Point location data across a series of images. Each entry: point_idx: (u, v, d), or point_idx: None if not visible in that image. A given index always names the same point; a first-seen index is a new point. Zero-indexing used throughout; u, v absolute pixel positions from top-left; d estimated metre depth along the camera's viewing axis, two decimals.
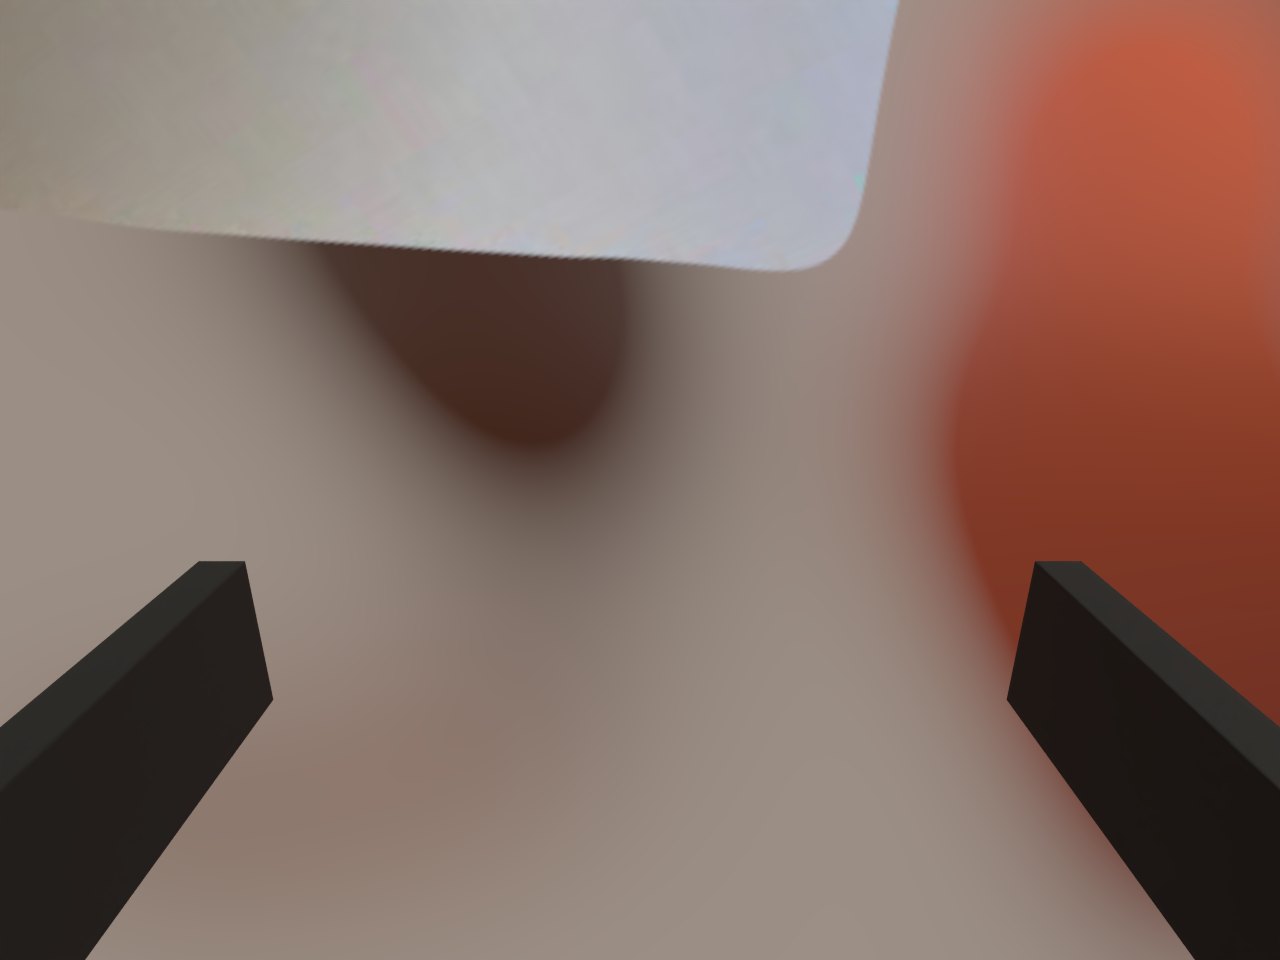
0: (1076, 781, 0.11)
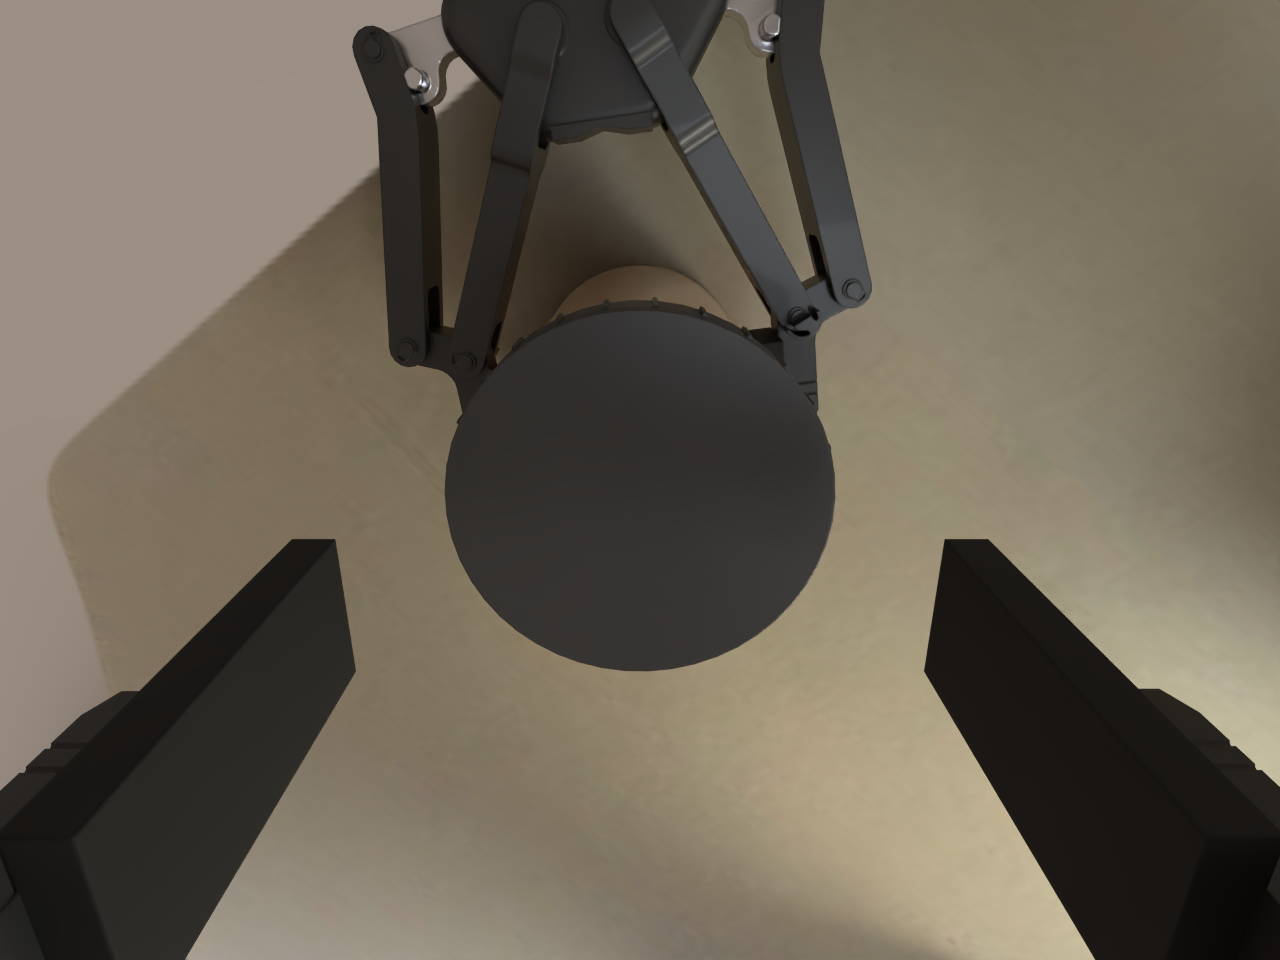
0: (974, 743, 0.12)
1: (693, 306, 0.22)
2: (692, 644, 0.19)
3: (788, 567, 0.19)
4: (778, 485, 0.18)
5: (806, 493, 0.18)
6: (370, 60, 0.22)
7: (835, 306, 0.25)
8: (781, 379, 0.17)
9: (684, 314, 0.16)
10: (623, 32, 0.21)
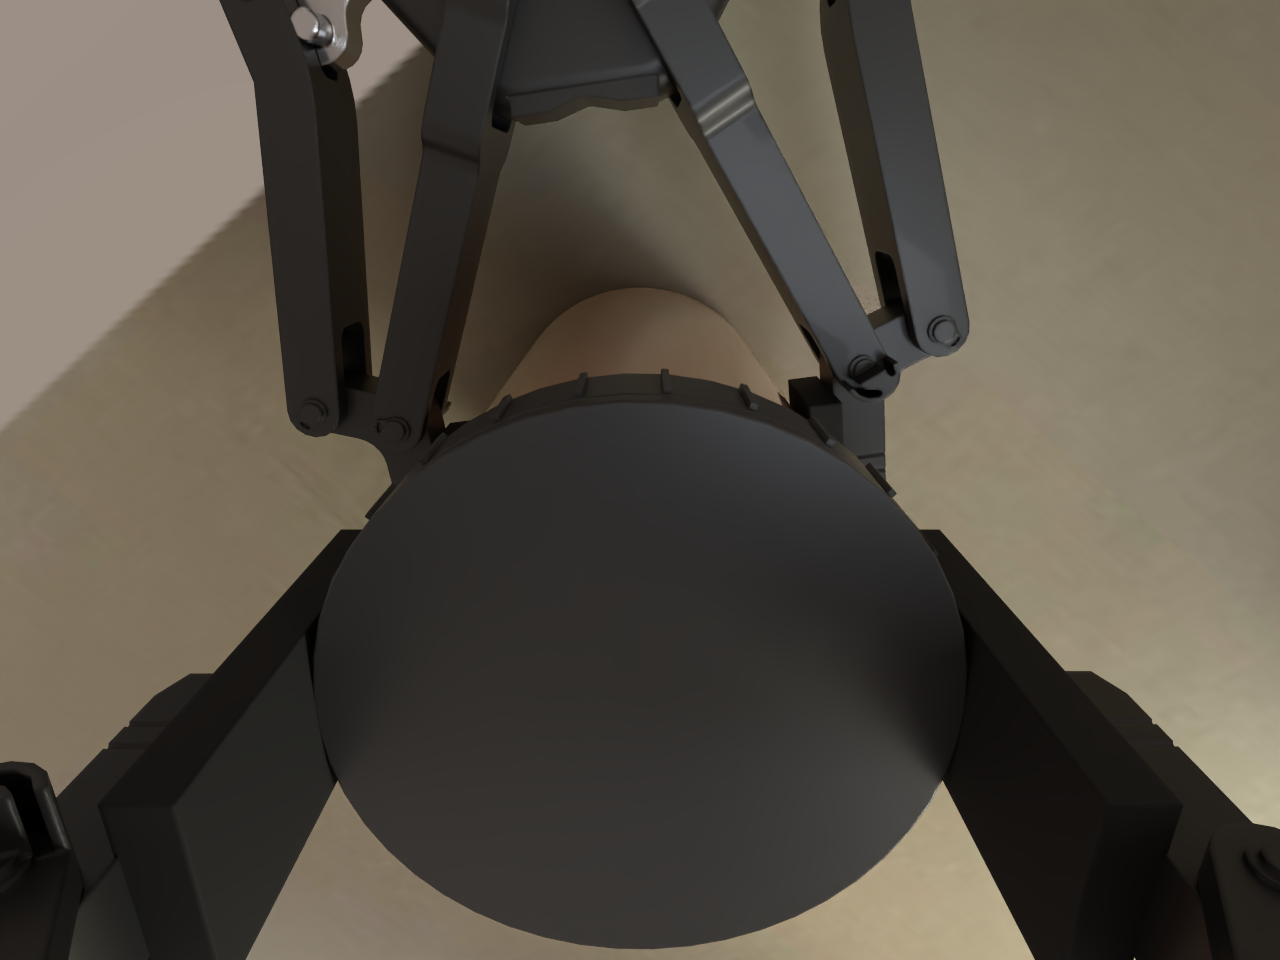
0: None
1: (719, 362, 0.15)
2: (723, 913, 0.12)
3: (882, 805, 0.11)
4: (872, 684, 0.11)
5: (918, 696, 0.11)
6: None
7: (914, 352, 0.18)
8: (886, 517, 0.10)
9: (719, 409, 0.09)
10: None
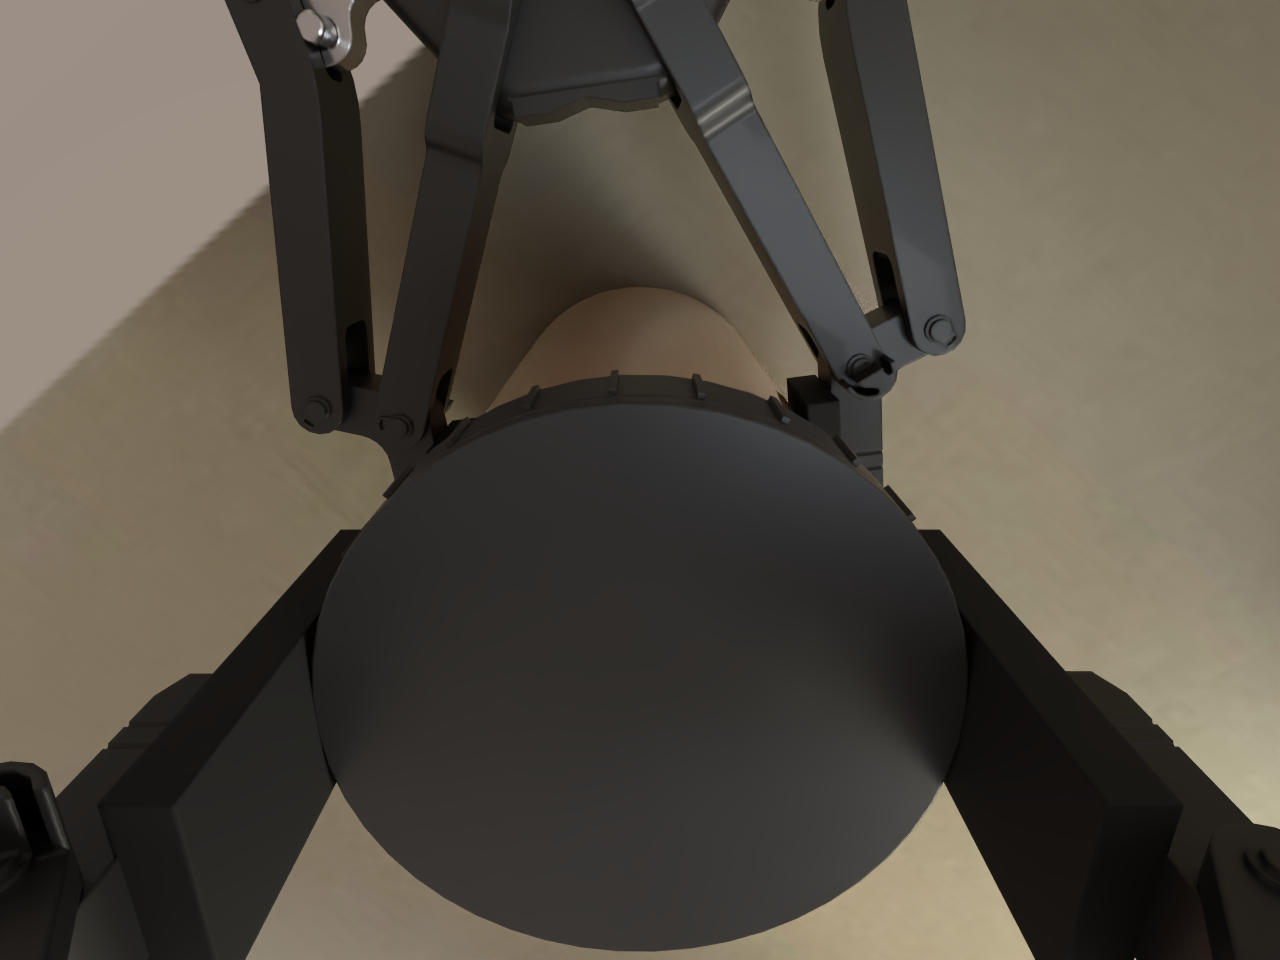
0: None
1: (718, 360, 0.15)
2: (892, 575, 0.10)
3: (687, 456, 0.09)
4: (530, 527, 0.10)
5: (529, 475, 0.09)
6: None
7: (911, 351, 0.18)
8: (351, 578, 0.10)
9: (319, 732, 0.11)
10: None
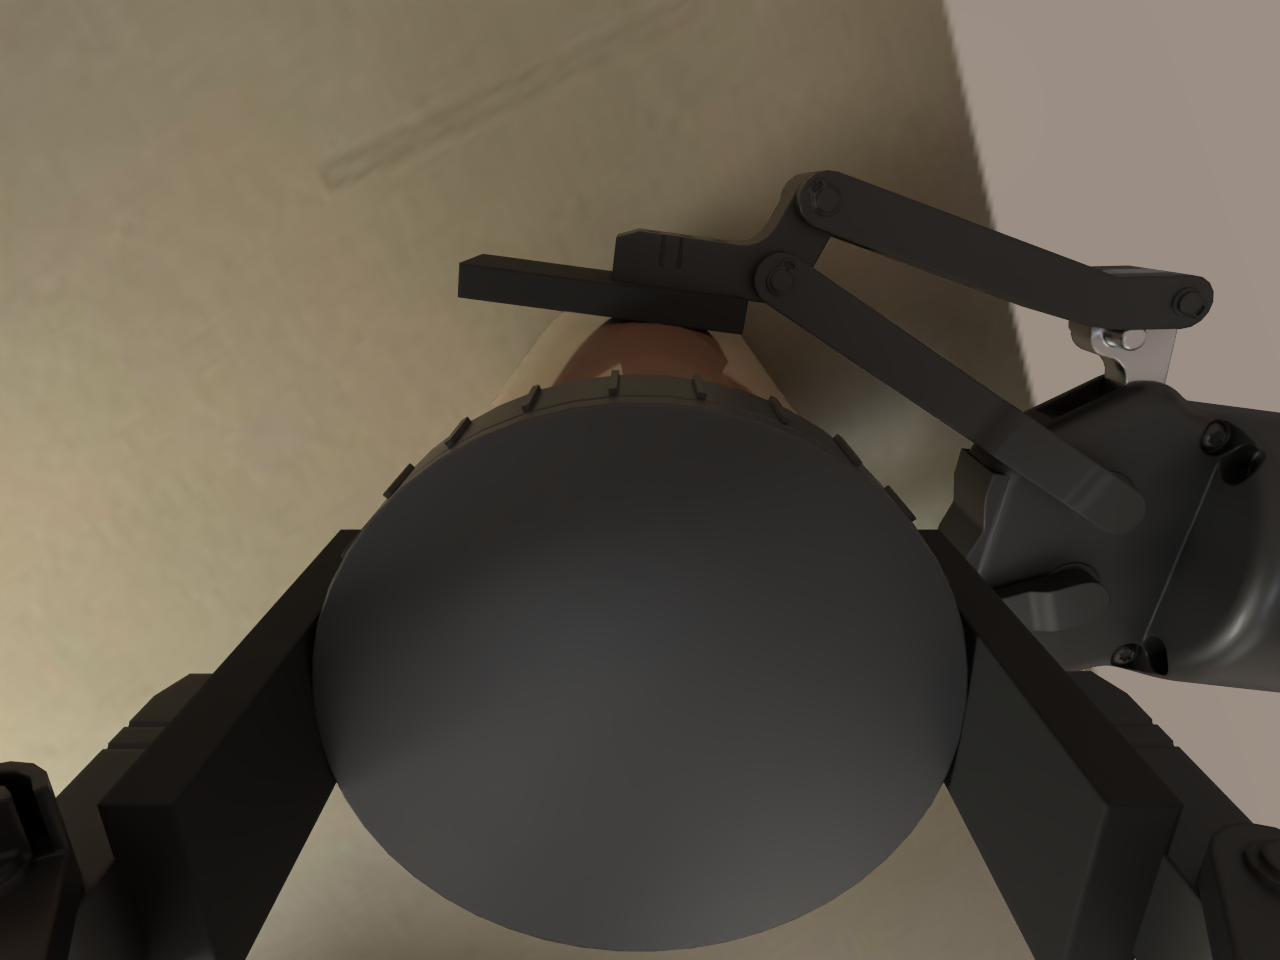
0: None
1: None
2: (892, 575, 0.10)
3: (687, 456, 0.09)
4: (531, 527, 0.10)
5: (530, 475, 0.09)
6: (1179, 294, 0.17)
7: None
8: (351, 578, 0.10)
9: (319, 732, 0.11)
10: (1071, 591, 0.19)
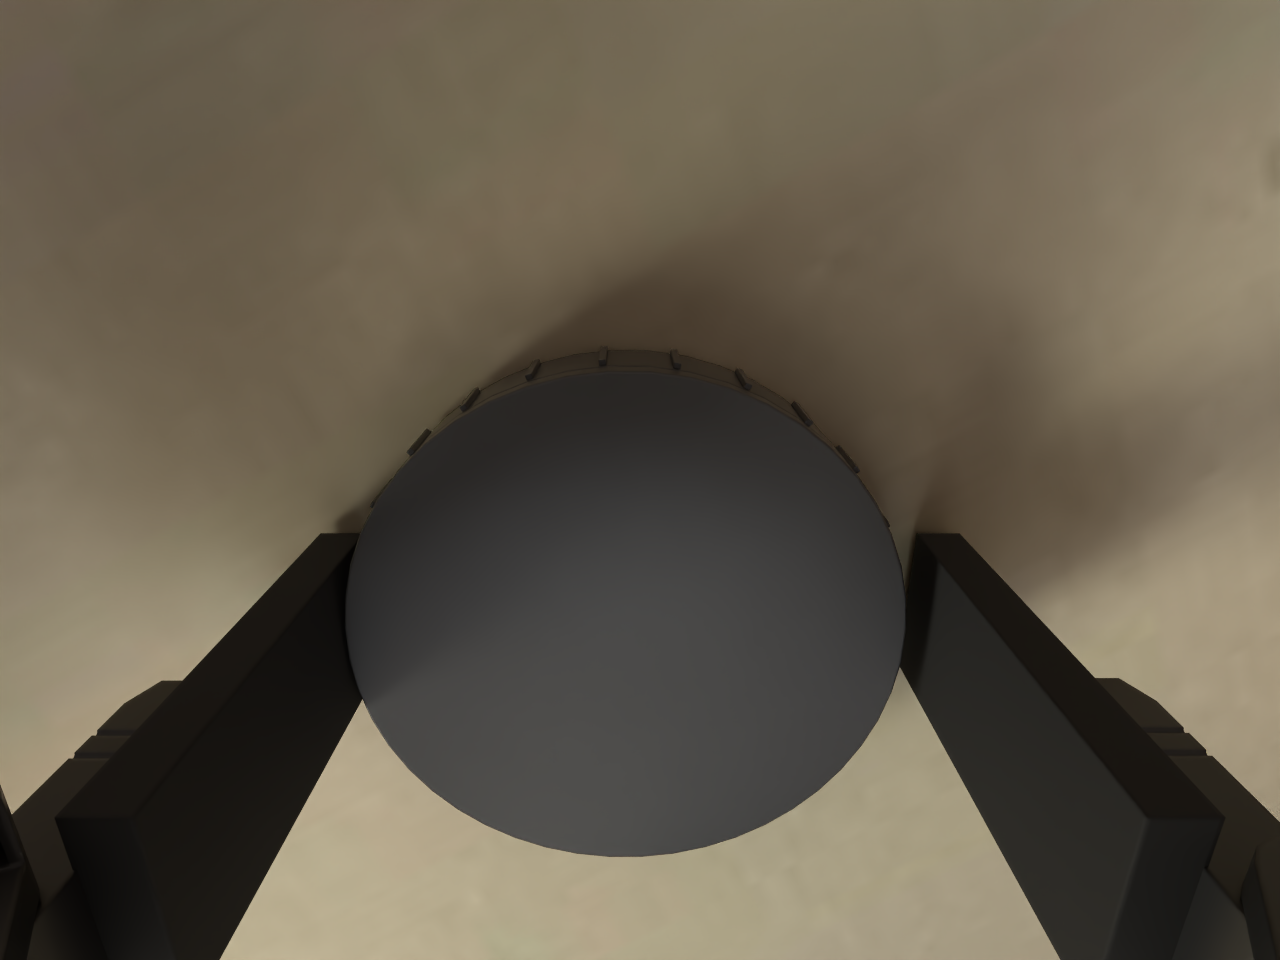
0: (943, 732, 0.12)
1: None
2: (839, 518, 0.12)
3: (665, 416, 0.11)
4: (533, 477, 0.11)
5: (533, 433, 0.11)
6: None
7: None
8: (380, 523, 0.12)
9: (350, 660, 0.13)
10: None
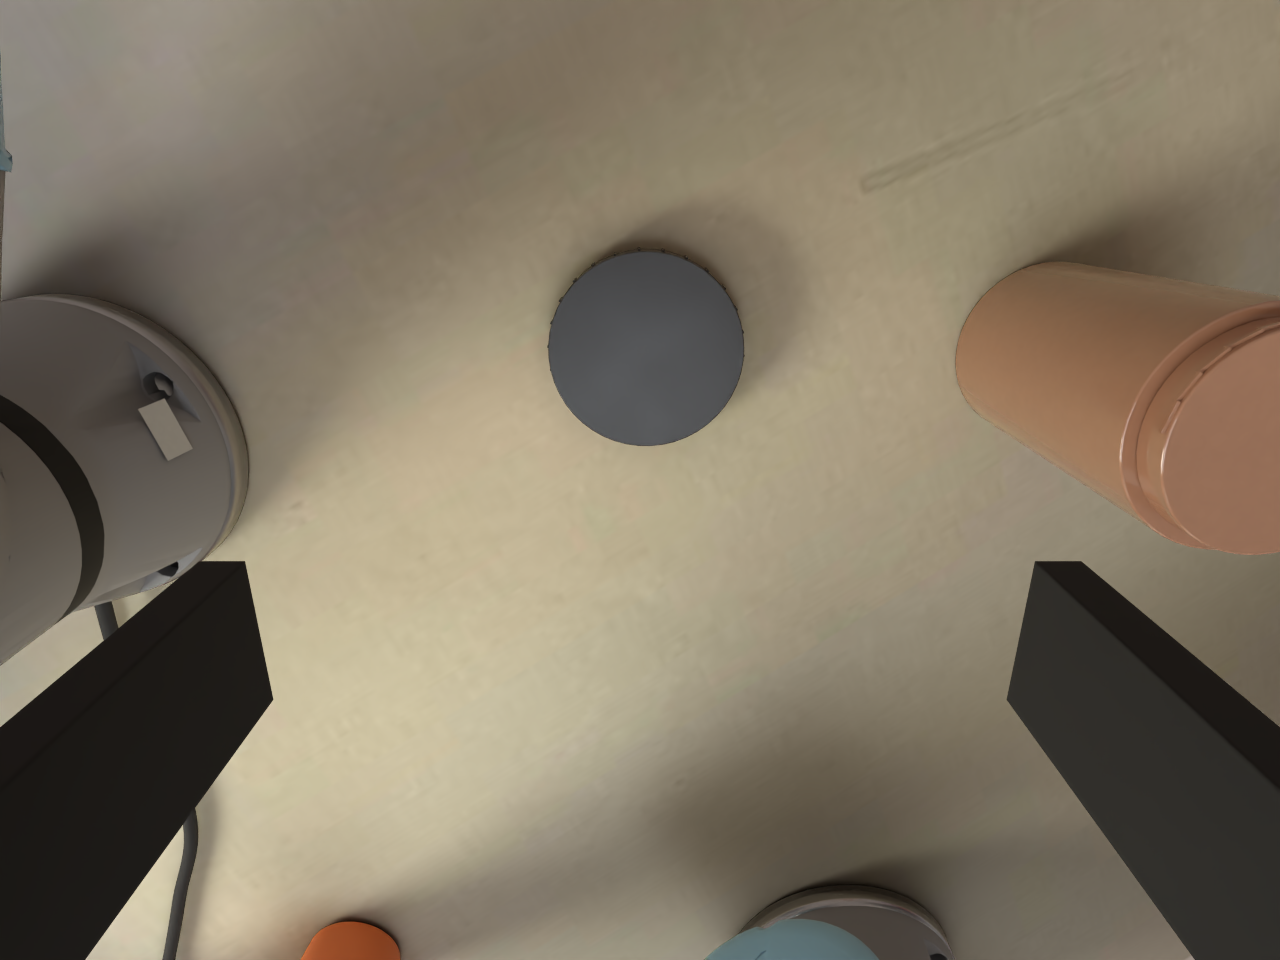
0: (1076, 781, 0.11)
1: None
2: (717, 303, 0.35)
3: (659, 267, 0.34)
4: (616, 288, 0.35)
5: (616, 272, 0.34)
6: None
7: None
8: (564, 305, 0.35)
9: (549, 358, 0.36)
10: None
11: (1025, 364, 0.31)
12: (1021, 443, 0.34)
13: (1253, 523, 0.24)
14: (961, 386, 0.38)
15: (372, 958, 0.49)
